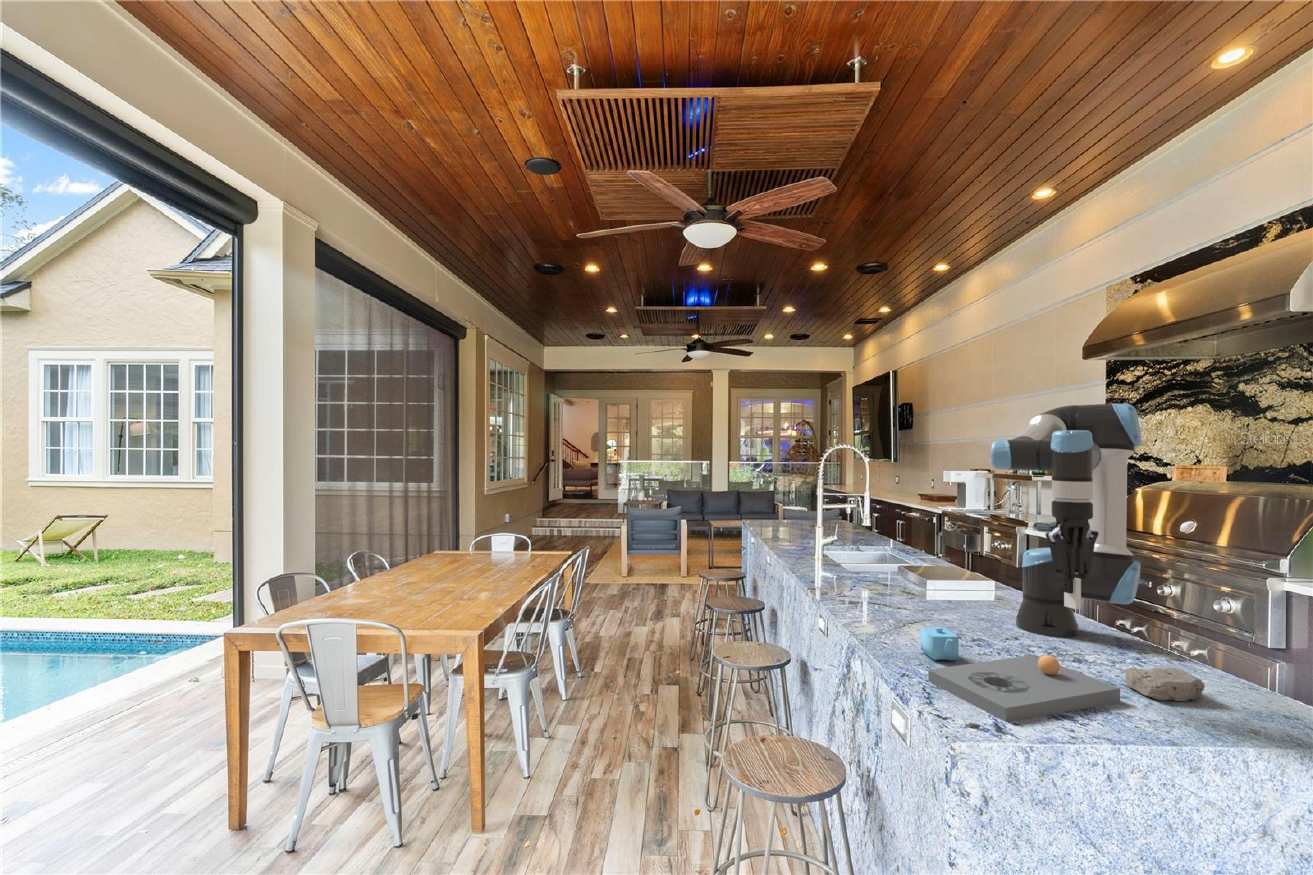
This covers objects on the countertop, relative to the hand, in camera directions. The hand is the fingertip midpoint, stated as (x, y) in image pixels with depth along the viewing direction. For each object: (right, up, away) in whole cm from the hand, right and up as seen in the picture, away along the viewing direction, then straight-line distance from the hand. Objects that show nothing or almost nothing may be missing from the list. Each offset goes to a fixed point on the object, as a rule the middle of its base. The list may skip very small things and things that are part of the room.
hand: (1072, 607), depth 132 cm
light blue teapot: (-22, -17, +15) cm, 32 cm away
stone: (+15, -14, 0) cm, 21 cm away
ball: (-6, -12, -2) cm, 14 cm away
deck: (-14, -17, -4) cm, 22 cm away
